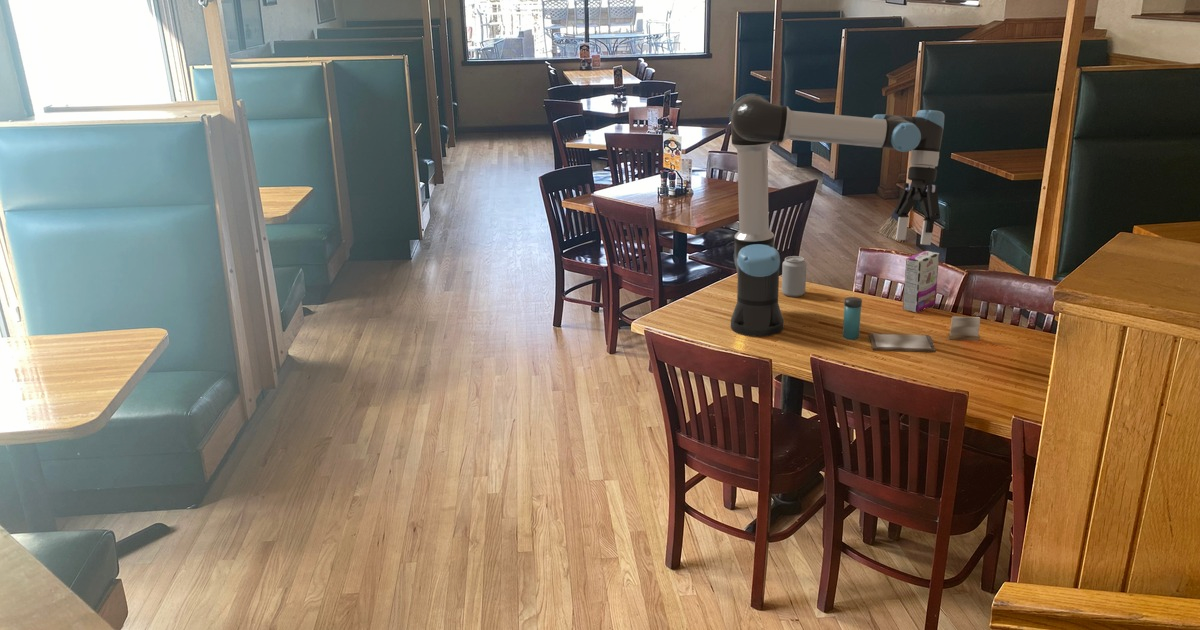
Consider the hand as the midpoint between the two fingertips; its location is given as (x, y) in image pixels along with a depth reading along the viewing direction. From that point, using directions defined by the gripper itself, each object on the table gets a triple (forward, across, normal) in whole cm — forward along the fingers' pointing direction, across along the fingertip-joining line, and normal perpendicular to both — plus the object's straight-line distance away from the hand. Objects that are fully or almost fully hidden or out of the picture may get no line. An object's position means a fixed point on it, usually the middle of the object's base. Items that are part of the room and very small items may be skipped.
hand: (912, 242), depth 248 cm
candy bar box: (+20, +11, -12) cm, 26 cm away
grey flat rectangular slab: (+27, -14, +7) cm, 31 cm away
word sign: (+24, -16, -10) cm, 31 cm away
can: (+22, +33, +20) cm, 44 cm away
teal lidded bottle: (+27, -6, +18) cm, 33 cm away
